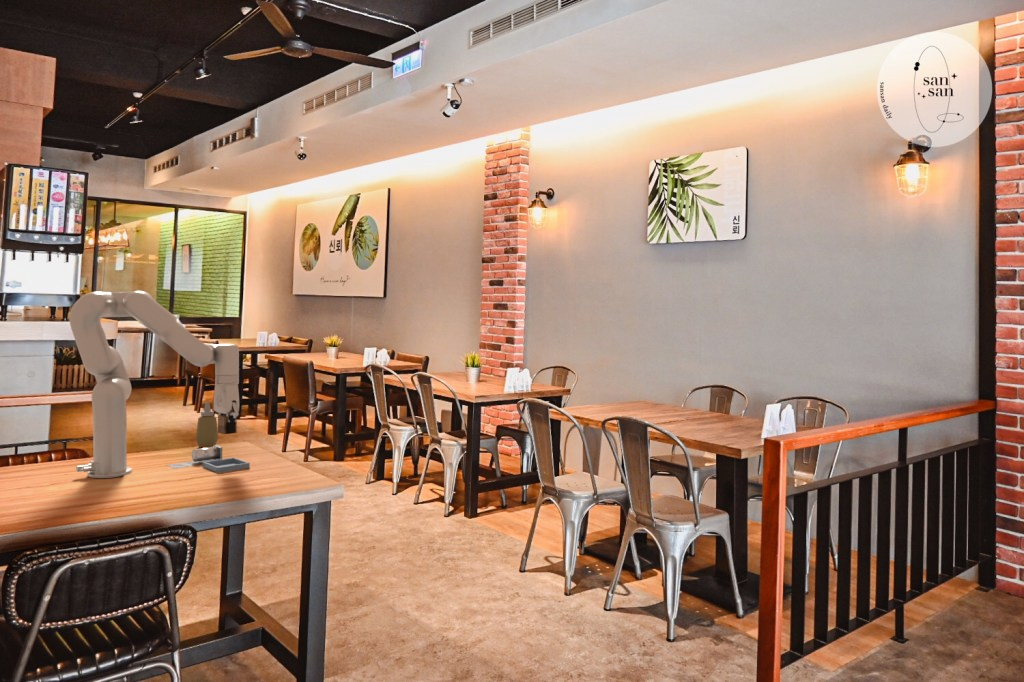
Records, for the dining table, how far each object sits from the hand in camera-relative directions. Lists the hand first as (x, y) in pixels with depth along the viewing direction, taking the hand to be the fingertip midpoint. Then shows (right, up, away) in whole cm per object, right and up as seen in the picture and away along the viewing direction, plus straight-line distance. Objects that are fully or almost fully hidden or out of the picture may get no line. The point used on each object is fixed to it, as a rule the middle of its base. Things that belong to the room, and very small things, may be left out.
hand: (227, 431), depth 239 cm
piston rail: (-13, -12, +6) cm, 19 cm away
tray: (-1, -13, +1) cm, 13 cm away
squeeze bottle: (-22, -11, +35) cm, 43 cm away
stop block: (0, 0, 0) cm, 0 cm away
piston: (-11, -12, +8) cm, 18 cm away
